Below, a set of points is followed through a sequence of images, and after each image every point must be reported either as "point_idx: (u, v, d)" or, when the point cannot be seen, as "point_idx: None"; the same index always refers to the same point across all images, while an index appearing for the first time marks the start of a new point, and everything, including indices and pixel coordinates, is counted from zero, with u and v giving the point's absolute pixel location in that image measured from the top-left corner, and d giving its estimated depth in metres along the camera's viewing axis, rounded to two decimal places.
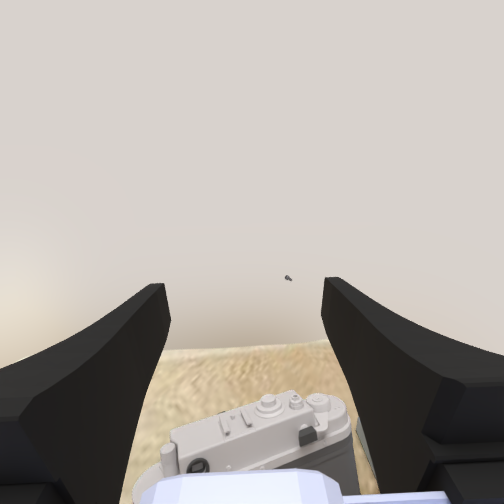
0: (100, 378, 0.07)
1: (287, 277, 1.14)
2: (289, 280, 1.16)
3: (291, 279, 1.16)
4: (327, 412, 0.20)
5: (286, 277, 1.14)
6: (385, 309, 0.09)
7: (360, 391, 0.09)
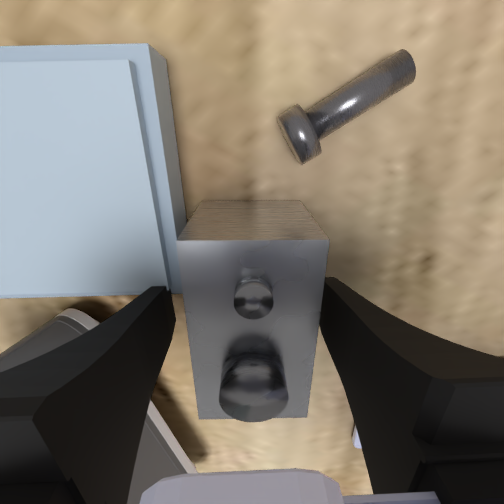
0: (109, 378, 0.07)
1: None
2: None
3: None
4: None
5: None
6: (379, 309, 0.09)
7: (354, 391, 0.09)
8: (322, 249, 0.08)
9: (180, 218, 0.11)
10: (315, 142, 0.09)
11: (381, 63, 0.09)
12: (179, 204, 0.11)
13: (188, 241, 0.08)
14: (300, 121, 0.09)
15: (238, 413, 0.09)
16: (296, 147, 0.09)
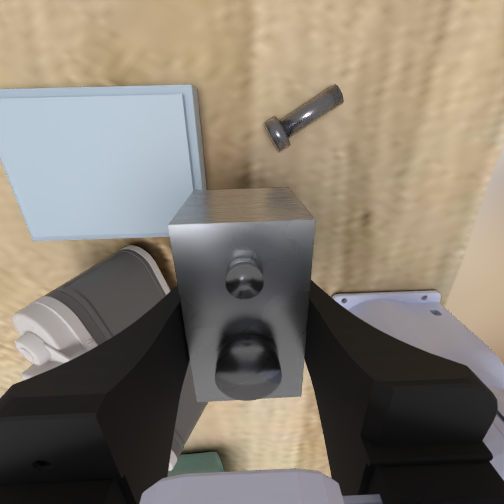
0: (150, 376, 0.07)
1: None
2: None
3: None
4: (46, 345, 0.14)
5: None
6: (345, 311, 0.09)
7: (320, 393, 0.09)
8: (308, 229, 0.08)
9: (204, 187, 0.18)
10: (285, 138, 0.16)
11: (323, 92, 0.16)
12: (203, 178, 0.18)
13: (179, 225, 0.08)
14: (276, 126, 0.16)
15: (234, 392, 0.10)
16: (274, 141, 0.16)
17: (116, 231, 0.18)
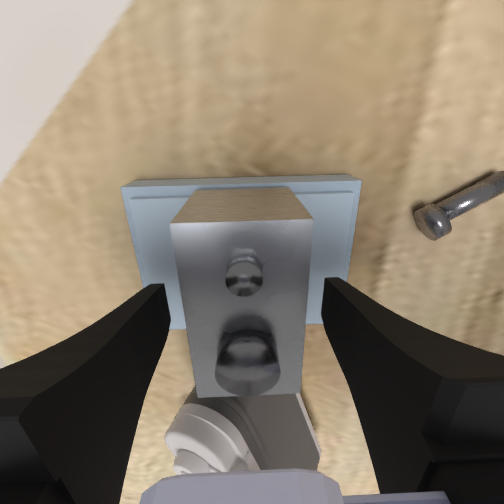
0: (100, 378, 0.07)
1: None
2: None
3: None
4: (211, 468, 0.12)
5: None
6: (385, 309, 0.09)
7: (360, 391, 0.09)
8: (307, 228, 0.08)
9: None
10: (449, 230, 0.15)
11: (490, 179, 0.15)
12: None
13: (181, 223, 0.08)
14: (442, 219, 0.14)
15: (233, 388, 0.10)
16: (436, 233, 0.15)
17: None
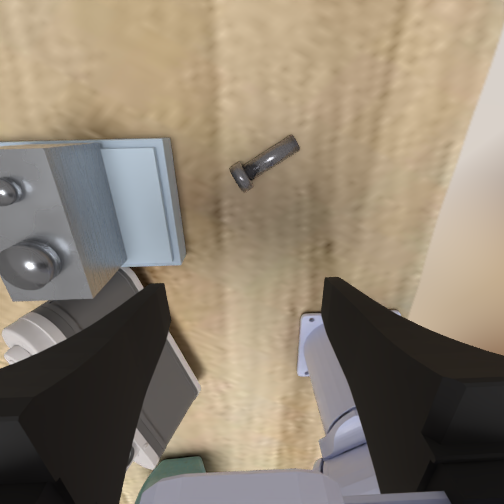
0: (100, 378, 0.07)
1: None
2: None
3: None
4: None
5: None
6: (385, 309, 0.09)
7: (360, 391, 0.09)
8: (41, 155, 0.12)
9: (178, 222, 0.20)
10: (248, 182, 0.18)
11: (282, 141, 0.18)
12: (177, 214, 0.20)
13: None
14: (239, 172, 0.18)
15: (17, 282, 0.13)
16: (238, 185, 0.18)
17: None
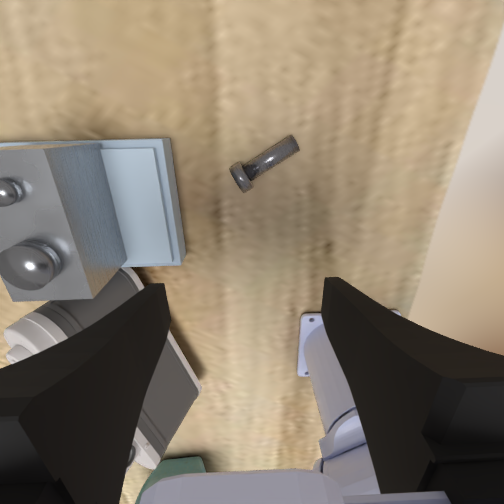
0: (100, 378, 0.07)
1: None
2: None
3: None
4: None
5: None
6: (385, 309, 0.09)
7: (360, 391, 0.09)
8: (41, 156, 0.12)
9: (178, 222, 0.20)
10: (248, 182, 0.18)
11: (282, 141, 0.18)
12: (177, 214, 0.20)
13: None
14: (239, 172, 0.18)
15: (17, 282, 0.13)
16: (238, 185, 0.18)
17: None
